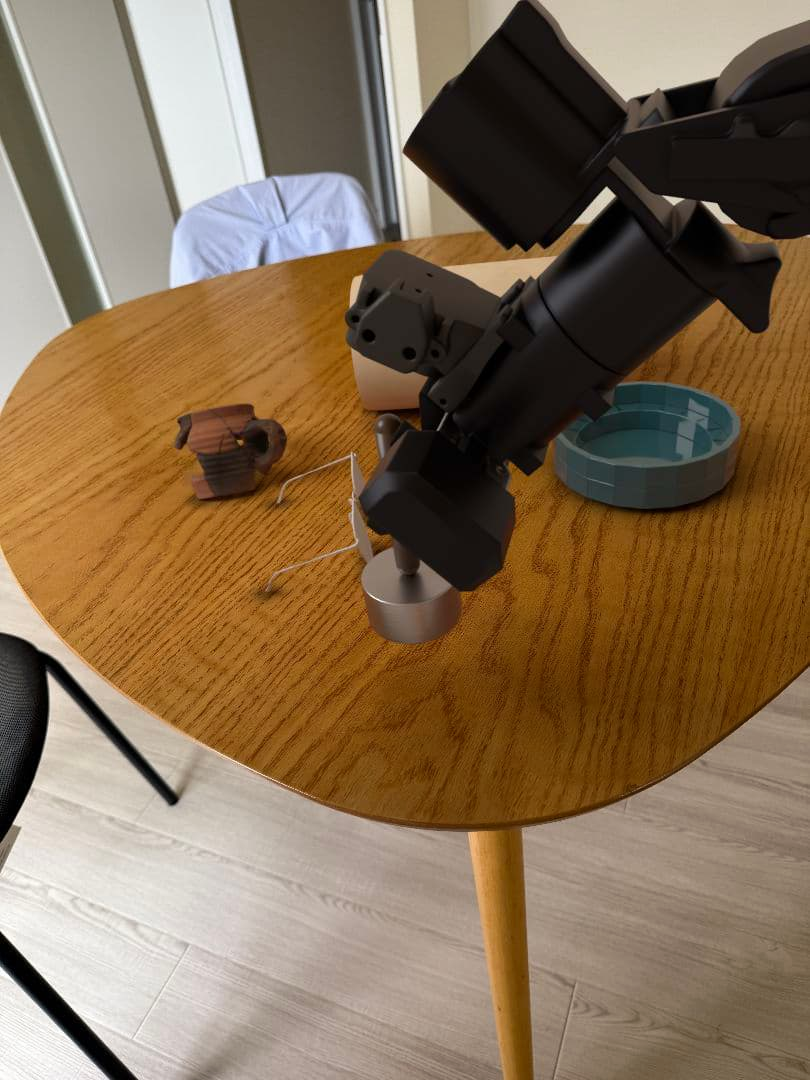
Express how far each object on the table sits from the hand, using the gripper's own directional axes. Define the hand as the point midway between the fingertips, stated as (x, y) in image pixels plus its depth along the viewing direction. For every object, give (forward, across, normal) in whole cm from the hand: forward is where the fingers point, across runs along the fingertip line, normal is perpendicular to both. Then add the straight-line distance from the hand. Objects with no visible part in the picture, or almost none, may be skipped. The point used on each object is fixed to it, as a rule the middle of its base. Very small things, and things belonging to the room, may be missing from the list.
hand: (378, 519), depth 43 cm
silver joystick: (+4, 0, +6) cm, 7 cm away
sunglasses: (+18, -15, +1) cm, 24 cm away
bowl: (0, -29, +19) cm, 35 cm away
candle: (+12, -42, +7) cm, 44 cm away
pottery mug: (+26, -24, -7) cm, 37 cm away
